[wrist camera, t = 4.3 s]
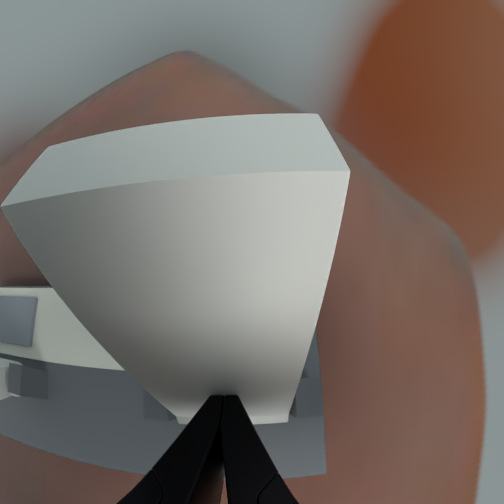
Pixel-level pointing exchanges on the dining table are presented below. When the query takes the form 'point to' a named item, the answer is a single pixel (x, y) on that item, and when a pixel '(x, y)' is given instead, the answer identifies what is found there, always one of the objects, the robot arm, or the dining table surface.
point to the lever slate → (5, 378)
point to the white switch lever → (192, 250)
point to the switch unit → (117, 396)
